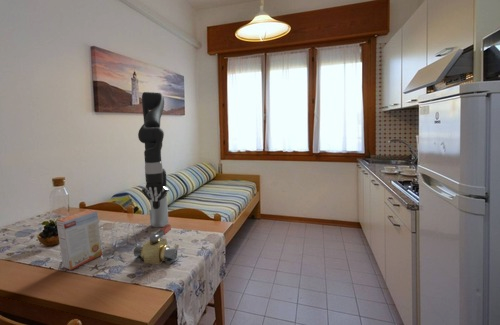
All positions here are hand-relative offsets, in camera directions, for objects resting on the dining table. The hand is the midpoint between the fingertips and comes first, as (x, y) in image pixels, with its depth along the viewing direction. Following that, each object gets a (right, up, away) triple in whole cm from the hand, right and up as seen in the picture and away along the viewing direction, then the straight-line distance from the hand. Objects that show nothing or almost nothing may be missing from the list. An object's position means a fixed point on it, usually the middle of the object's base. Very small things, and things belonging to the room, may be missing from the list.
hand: (156, 208), depth 122 cm
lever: (+3, -12, -4) cm, 13 cm away
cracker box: (-29, -22, -8) cm, 37 cm away
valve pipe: (+2, -21, -7) cm, 22 cm away
